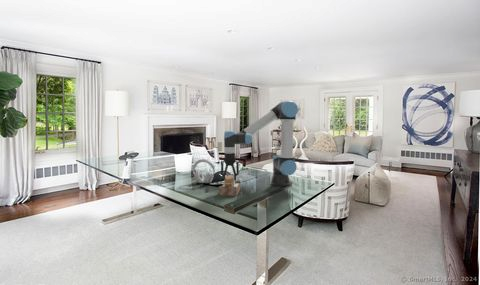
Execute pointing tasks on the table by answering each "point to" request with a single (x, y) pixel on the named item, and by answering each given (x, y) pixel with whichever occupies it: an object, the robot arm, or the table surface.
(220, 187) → the stand
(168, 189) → the table surface
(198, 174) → the headphones
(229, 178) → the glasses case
